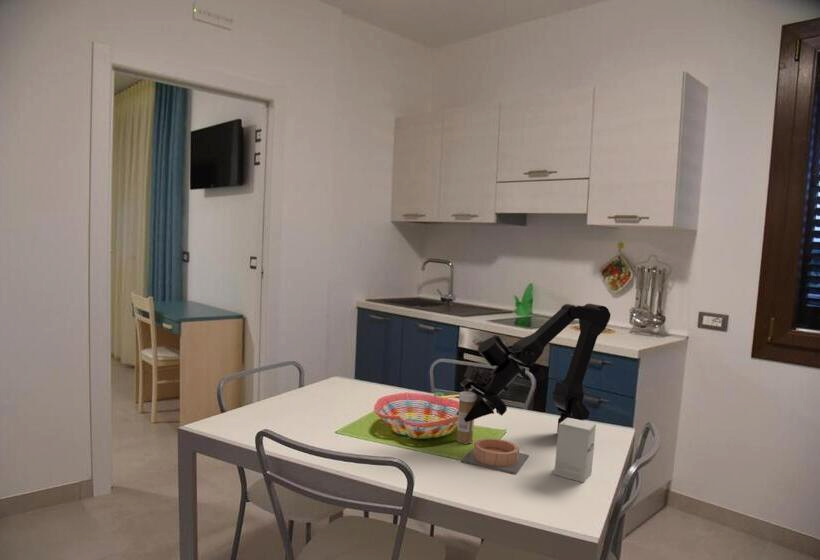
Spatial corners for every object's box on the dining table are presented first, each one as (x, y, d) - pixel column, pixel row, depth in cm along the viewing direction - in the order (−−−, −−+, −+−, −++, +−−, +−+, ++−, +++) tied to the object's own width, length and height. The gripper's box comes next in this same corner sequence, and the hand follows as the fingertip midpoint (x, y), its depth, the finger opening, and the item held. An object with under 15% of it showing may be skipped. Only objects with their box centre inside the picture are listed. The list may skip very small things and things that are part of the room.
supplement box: (584, 483, 134) (589, 430, 133) (553, 474, 138) (557, 423, 137) (592, 473, 140) (597, 422, 140) (562, 466, 144) (566, 416, 144)
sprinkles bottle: (476, 442, 158) (479, 394, 157) (465, 445, 154) (468, 396, 154) (463, 437, 161) (466, 390, 160) (452, 440, 158) (455, 392, 157)
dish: (529, 456, 149) (530, 443, 149) (516, 474, 137) (517, 460, 136) (477, 445, 155) (478, 433, 155) (460, 461, 142) (461, 448, 142)
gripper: (469, 350, 166) (430, 389, 163) (499, 364, 149) (457, 408, 146) (491, 377, 169) (454, 415, 166) (524, 394, 152) (483, 437, 149)
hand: (461, 418), depth 157 cm, fingers closed on sprinkles bottle, 4 cm apart
